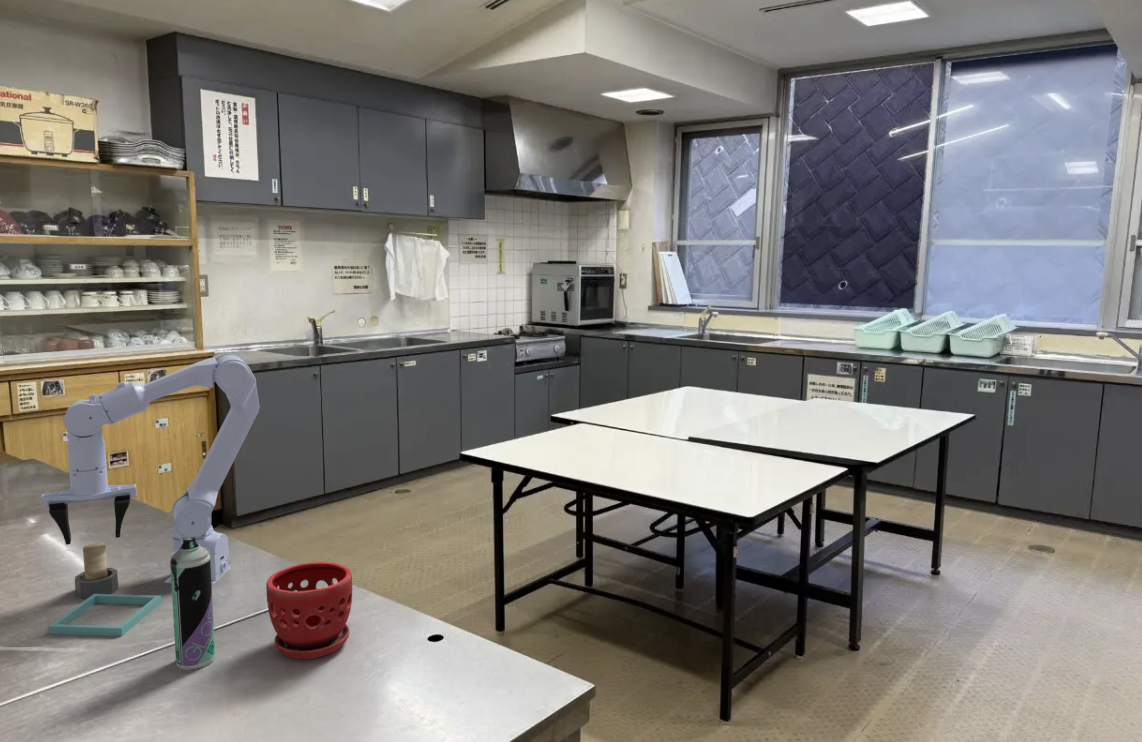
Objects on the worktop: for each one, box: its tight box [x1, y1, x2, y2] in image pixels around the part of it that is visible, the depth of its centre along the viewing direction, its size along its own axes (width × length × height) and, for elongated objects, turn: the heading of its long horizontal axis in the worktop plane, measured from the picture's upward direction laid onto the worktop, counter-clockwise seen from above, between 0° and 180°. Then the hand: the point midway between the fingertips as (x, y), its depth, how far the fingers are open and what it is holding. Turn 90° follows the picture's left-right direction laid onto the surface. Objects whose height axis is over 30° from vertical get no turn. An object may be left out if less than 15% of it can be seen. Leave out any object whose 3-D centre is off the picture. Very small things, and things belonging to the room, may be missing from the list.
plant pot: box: [266, 561, 353, 660], centre depth 124 cm, size 13×13×12 cm
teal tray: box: [47, 593, 163, 637], centre depth 131 cm, size 12×12×2 cm
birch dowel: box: [82, 542, 108, 581], centre depth 140 cm, size 4×4×8 cm
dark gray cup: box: [74, 567, 119, 600], centre depth 141 cm, size 7×7×4 cm
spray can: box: [169, 537, 216, 671], centre depth 118 cm, size 6×6×20 cm
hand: (93, 539), depth 139 cm, fingers open, 7 cm apart
